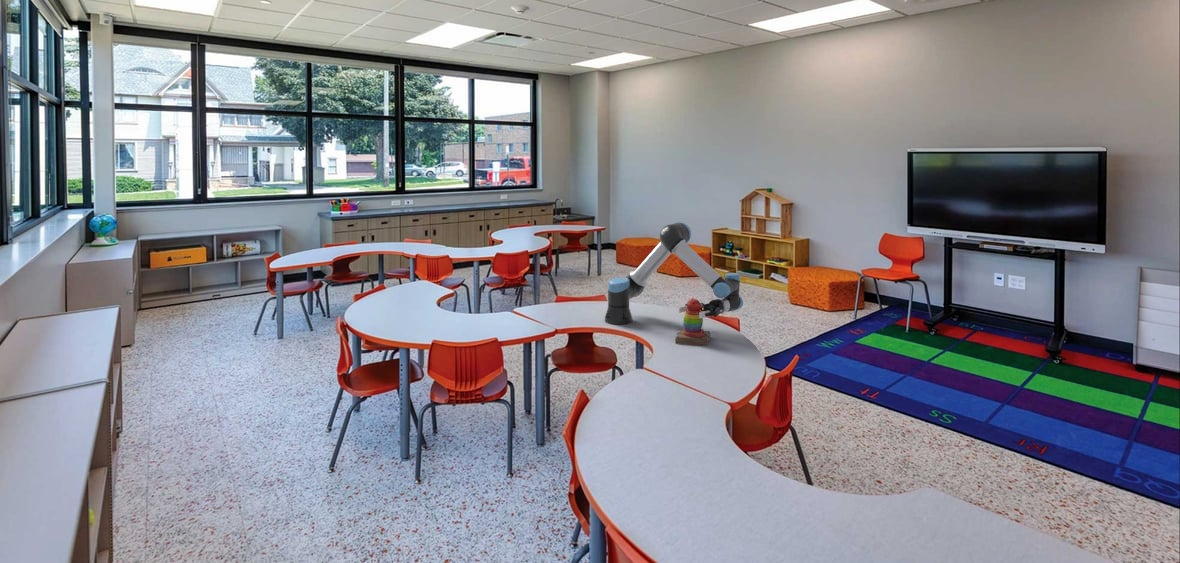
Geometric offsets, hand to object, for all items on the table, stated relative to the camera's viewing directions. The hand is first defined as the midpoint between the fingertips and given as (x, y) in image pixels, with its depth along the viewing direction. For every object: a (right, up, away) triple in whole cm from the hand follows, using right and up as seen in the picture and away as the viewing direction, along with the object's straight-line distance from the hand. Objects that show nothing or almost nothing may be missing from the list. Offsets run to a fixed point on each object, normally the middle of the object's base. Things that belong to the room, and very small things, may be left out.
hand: (689, 312), depth 296 cm
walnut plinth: (+3, -14, +5) cm, 15 cm away
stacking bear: (+3, -11, +4) cm, 12 cm away
